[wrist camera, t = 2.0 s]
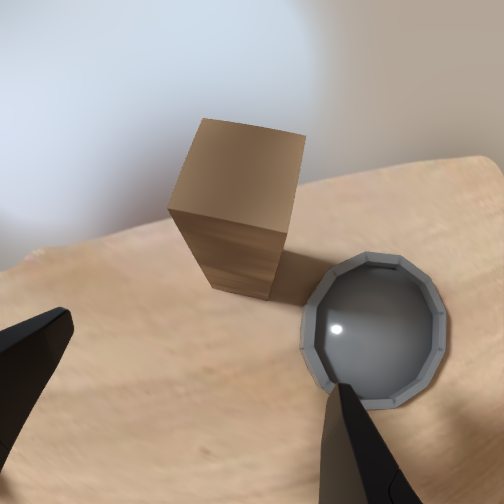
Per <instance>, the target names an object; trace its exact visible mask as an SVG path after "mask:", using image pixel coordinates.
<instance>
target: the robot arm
mask: <svg viewBox="0 0 504 504" xmlns="http://www.w3.org/2000/svg"><path fill="white" fill-rule="evenodd" d="M73 333H74V325H73V320H72V316H71V312H70V311H69V310H68V309H66V308H63V307H57V308H55V309H52V310H50V311H47V312H45V313H42V314H40V315H38V316H35V317H33V318H30V319H28V320H25V321H23V322H21V323H18V324H16V325H13V326H11V327H9V328H6V329H4V330H1V331H0V472H1V470H2V468H3V466H4V464H5V461H6V459H7V457H8V455H9V453H10V451H11V449H12V447H13V445H14V443H15V441H16V439H17V437H18V435H19V433H20V431H21V429H22V427H23V425H24V423H25V422H26V420H27V418H28V416H29V414H30V412H31V411H32V409H33V407H34V405H35V403H36V402H37V400H38V398H39V396H40V395H41V393H42V391H43V389H44V388H45V386H46V384H47V383H48V381H49V379H50V378H51V376H52V374H53V373H54V371H55V369H56V367H57V366H58V364H59V362H60V360H61V357H62V355H63V353H64V351H65V349H66V347H67V345H68V343H69V341H70V339H71V337H72V335H73ZM319 504H423V503H422V502H421V500H420V499H419V497H418V496H417V495H416V493H415V492H414V490H413V489H412V487H411V486H410V484H409V482H408V481H407V479H406V478H405V476H404V474H403V472H402V471H401V469H399V466H398V464H397V462H396V461H395V459H394V457H393V455H392V454H391V452H390V450H389V449H388V447H387V445H386V443H385V442H384V440H383V438H382V437H381V435H380V433H379V432H378V430H377V428H376V426H375V425H374V423H373V421H372V420H371V418H370V416H369V415H368V413H367V411H366V410H365V408H364V406H363V404H362V403H361V401H360V399H359V398H358V396H357V394H356V393H355V391H354V389H353V388H352V386H351V385H350V384H348V383H341V382H338V383H337V384H336V385H335V387H334V388H333V390H332V392H331V394H330V396H329V397H328V400H327V405H326V412H325V420H324V427H323V435H322V442H321V461H320V488H319Z"/></svg>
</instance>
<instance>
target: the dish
mask: <svg viewBox="0 0 504 504" xmlns="http://www.w3.org/2000/svg"><path fill="white" fill-rule="evenodd" d="M299 348H301V349H300V351H301V354H302V356H303V358H304V360H305V363H306V366H307V368H308V370H309V372H310V373H311V375H312V377H313V379H314V381H315V384H316V385H317V386H318V387H319V388H321V389H322V390H324V391H325V392H327V393H328V394H329V395H330V394H331V392H332V390H333V388H334V387H335V385H336V384H337V383H338V382H341V383H348V384H350V385H351V386H352V388H353V389H354V391H355V393H356V394H357V396H358V398H359V399H360V401H361V403H362V404H363V406H364V408H365V410H372V409H392V408H396V407H398V406H399V405H401V404H403V403H404V402H406V401H407V400H408V399H410V398H411V397H413V396H414V395H416V394H417V393H419V392H420V391H421V390H423V389H424V388H426V387H427V386H428V384H429V382H430V381H431V379H432V377H433V375H434V373H435V371H436V369H437V367H438V365H439V363H440V361H441V359H442V357H443V355H444V353H445V351H446V310H445V308H444V305H443V303H442V301H441V299H440V297H439V294H438V292H437V290H436V288H435V286H434V284H433V282H432V280H431V278H430V277H429V276H428V275H426V274H425V273H424V272H423V271H421V270H420V269H419V268H417V267H416V266H415V265H413V264H412V263H411V262H409V261H408V260H407V259H405V258H404V257H403V256H401V255H392V254H383V253H374V252H363V253H361V254H359V255H357V256H355V257H353V258H351V259H349V260H346V261H344V262H342V263H340V264H338V265H336V266H334V267H332V268H330V269H329V270H328V271H327V272H326V274H325V275H324V276H323V278H322V279H321V281H320V282H319V284H318V285H317V286H316V288H315V289H314V290H313V292H312V294H311V295H310V297H309V299H308V300H307V302H306V303H305V305H304V306H303V311H302V321H301V327H300V347H299Z"/></svg>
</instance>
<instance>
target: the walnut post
mask: <svg viewBox="0 0 504 504" xmlns="http://www.w3.org/2000/svg"><path fill="white" fill-rule="evenodd" d="M305 140H306V136H304V135H300V134H295V133H290V132H285V131H280V130H275V129H270V128H264V127H259V126H253V125H247V124H241V123H234V122H228V121H221V120H213V119H205V118H203V119H202V121H201V124H200V126H199V128H198V131H197V133H196V135H195V138H194V140H193V142H192V145H191V147H190V150H189V152H188V155H187V157H186V160H185V162H184V165H183V167H182V170H181V172H180V175H179V177H178V180H177V183H176V185H175V188H174V191H173V193H172V196H171V199H170V202H169V204H168V207H167V209H168V211H169V212H170V214H171V216H172V218H173V220H174V222H175V223H176V225H177V227H178V229H179V231H180V232H181V234H182V236H183V238H184V240H185V241H186V243H187V245H188V247H189V248H190V250H191V252H192V254H193V256H194V257H195V259H196V261H197V263H198V264H199V266H200V268H201V269H202V271H203V273H204V275H205V276H206V278H207V280H208V281H209V283H210V285H211V287H212V288H215V289H219V290H223V291H227V292H231V293H236V294H240V295H244V296H249V297H253V298H258V299H262V300H266V301H267V300H268V297H269V293H270V290H271V287H272V283H273V280H274V277H275V274H276V270H277V267H278V264H279V260H280V257H281V254H282V250H283V247H284V243H285V240H286V237H287V233H288V228H289V223H290V218H291V213H292V208H293V203H294V198H295V193H296V188H297V183H298V177H299V172H300V166H301V162H302V156H303V151H304V145H305Z"/></svg>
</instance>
